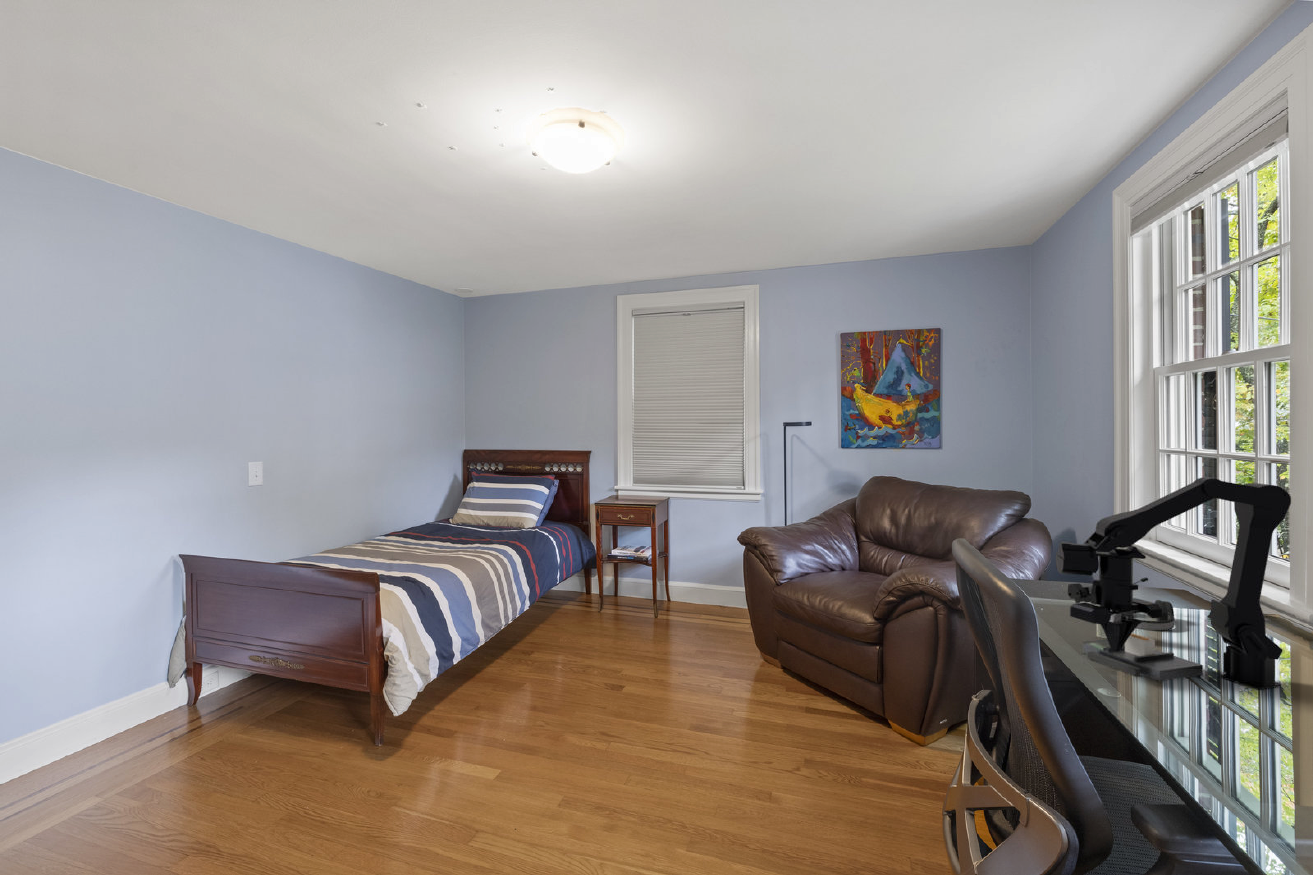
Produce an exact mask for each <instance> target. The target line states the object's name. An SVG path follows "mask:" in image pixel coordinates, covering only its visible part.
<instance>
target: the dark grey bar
mask: <svg viewBox="0 0 1313 875" xmlns="http://www.w3.org/2000/svg"><path fill="white" fill-rule="evenodd" d="M1086 655H1087V657H1086V658H1087V659H1088V658H1089V659H1088V660H1091V659H1093V660H1094V662H1096V661H1097V662H1096V663H1099V664H1102V665H1104V664H1105V665H1104V666H1107V665H1108V666H1107V667H1109V666H1110V667H1109V668H1113V669H1115V668H1117V669H1119V670H1118V671H1120V670H1121V671H1120V672H1123V673H1126V674H1128V673H1129V675H1132V676H1133V677H1139V676H1141V674H1140V668H1137V667H1134V666H1132V665H1129V664H1126V663H1123V662H1121V661H1118V660H1115V659H1112V658H1109V657H1107V656H1104V655H1101V654H1098V653H1095V652H1093V651H1092V652H1088V654H1086ZM1093 660H1092V661H1093ZM1117 669H1116V670H1117Z"/></svg>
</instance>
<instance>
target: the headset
mask: <svg viewBox="0 0 1313 875" xmlns="http://www.w3.org/2000/svg"><path fill="white" fill-rule="evenodd" d="M1147 581H1149V577H1143V578H1140V580H1138V581H1137V582H1133V584H1137V583H1140V582H1141V583H1145V582H1147ZM1154 603H1157V604H1158V605H1159V606H1160V607H1161V609H1162V618H1155V619H1156V620H1147V619H1146V620H1145V619H1144V620H1143V619H1139V618H1136V619H1137V620H1140V621H1142V623H1141V624H1139V625H1138V626H1137V627H1136V628H1135V629H1138V630H1144V631H1151V632H1152V631H1153V632H1166V631H1171V630H1172V629H1174V627H1175V614H1174V613H1175V612H1174V607H1173V605H1172V603H1171V602H1170V601H1167V600H1164V601H1163V600H1160V599H1156V600H1155V602H1154Z"/></svg>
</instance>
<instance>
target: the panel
mask: <svg viewBox="0 0 1313 875" xmlns="http://www.w3.org/2000/svg"><path fill="white" fill-rule="evenodd" d="M1081 647H1082V649H1081V650H1082V654H1086V655H1087V654H1088V652H1092V651H1093V652H1095V653H1098V654H1101V655H1104V656H1107V657H1109V658H1112V659H1115V660H1118V661H1121V662H1123V663H1126V664H1129V665H1132V666H1134V667H1137V668H1140V675H1141V676H1142V675H1143V676H1144V677H1145V676H1146V677H1147V678H1148V677H1149V678H1151V679H1153V680H1156V681H1159V682H1160V681H1168V680H1169V681H1170V680H1175V679H1181V678H1182V679H1183V678H1189V677H1196V676H1197V677H1198V676H1203V675H1204V674H1203V672H1204V665H1203V664H1200V663H1197V662H1194V661H1191V660H1189V659H1185V658H1182V657H1180V656H1179V657H1178V656H1176V655H1175V653H1174V652H1171V651H1170V652H1165V651H1164V652H1163V651H1161V650H1157V649H1155V654H1153V655H1144V656H1137V655H1134V654H1131V653H1129V652H1126V651H1125V644H1124V645H1123V647H1122V648H1121V650H1120V651H1119V652H1115V651H1112V650H1111V647H1110V645H1109V642H1108V641H1103V642H1094V643H1085V644H1083V643H1082V646H1081Z"/></svg>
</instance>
